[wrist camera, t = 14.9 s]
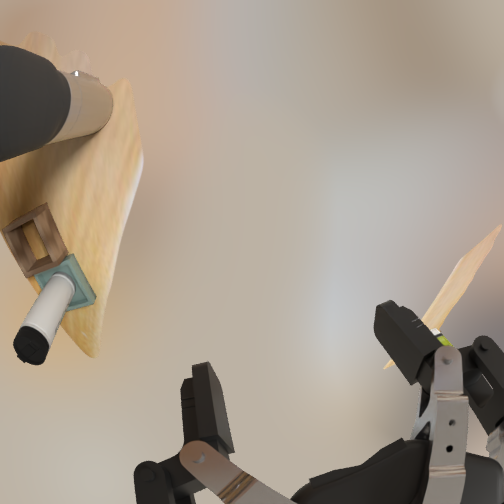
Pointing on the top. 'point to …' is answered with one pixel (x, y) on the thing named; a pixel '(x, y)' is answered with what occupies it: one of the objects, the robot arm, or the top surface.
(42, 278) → the tray
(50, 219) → the holder
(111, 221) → the top surface
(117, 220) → the top surface
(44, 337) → the travel mug
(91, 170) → the top surface
